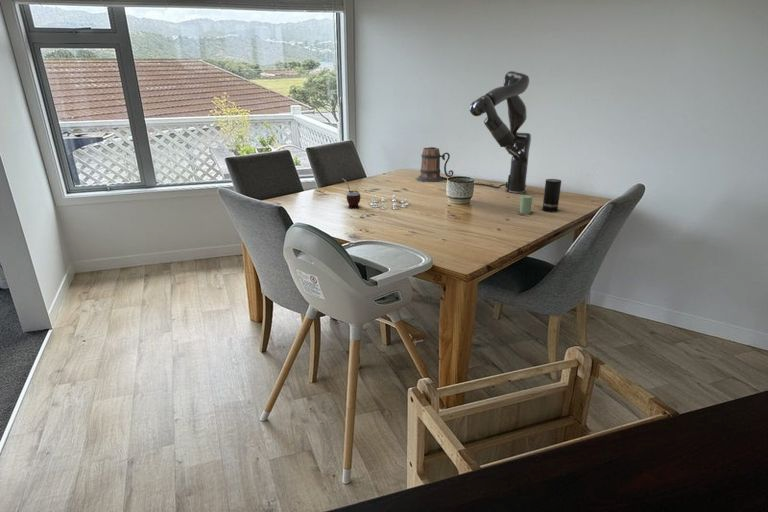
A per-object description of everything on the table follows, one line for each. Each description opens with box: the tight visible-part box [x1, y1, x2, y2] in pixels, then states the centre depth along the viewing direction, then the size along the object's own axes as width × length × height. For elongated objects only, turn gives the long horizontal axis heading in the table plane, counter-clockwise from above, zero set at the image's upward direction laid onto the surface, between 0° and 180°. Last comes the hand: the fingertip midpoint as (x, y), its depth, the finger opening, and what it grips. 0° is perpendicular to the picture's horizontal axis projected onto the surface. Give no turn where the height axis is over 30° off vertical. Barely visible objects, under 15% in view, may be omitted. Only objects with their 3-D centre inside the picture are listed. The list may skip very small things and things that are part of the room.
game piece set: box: [369, 193, 410, 210], centre depth 245 cm, size 19×20×4 cm
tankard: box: [416, 146, 454, 183], centre depth 305 cm, size 24×17×20 cm
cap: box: [519, 194, 533, 215], centre depth 230 cm, size 5×5×8 cm
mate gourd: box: [341, 177, 361, 209], centre depth 238 cm, size 8×8×15 cm
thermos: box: [542, 178, 562, 213], centre depth 233 cm, size 7×7×15 cm
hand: (522, 161), depth 223 cm, fingers open, 8 cm apart
